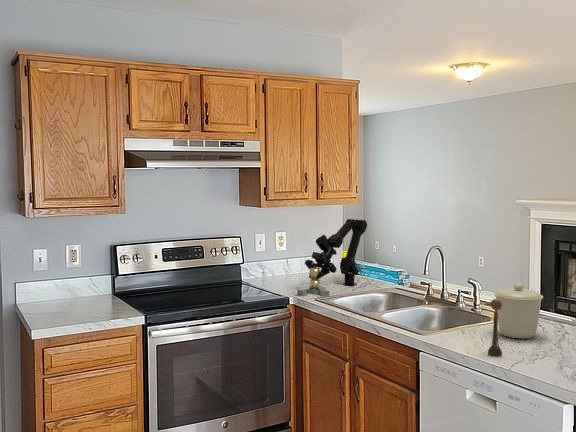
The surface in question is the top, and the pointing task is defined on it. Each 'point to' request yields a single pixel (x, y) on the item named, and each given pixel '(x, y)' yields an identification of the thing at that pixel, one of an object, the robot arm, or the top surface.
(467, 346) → the top surface
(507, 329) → the canister
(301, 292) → the shaft bench
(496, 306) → the wooden tabletop sculpture
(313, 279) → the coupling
